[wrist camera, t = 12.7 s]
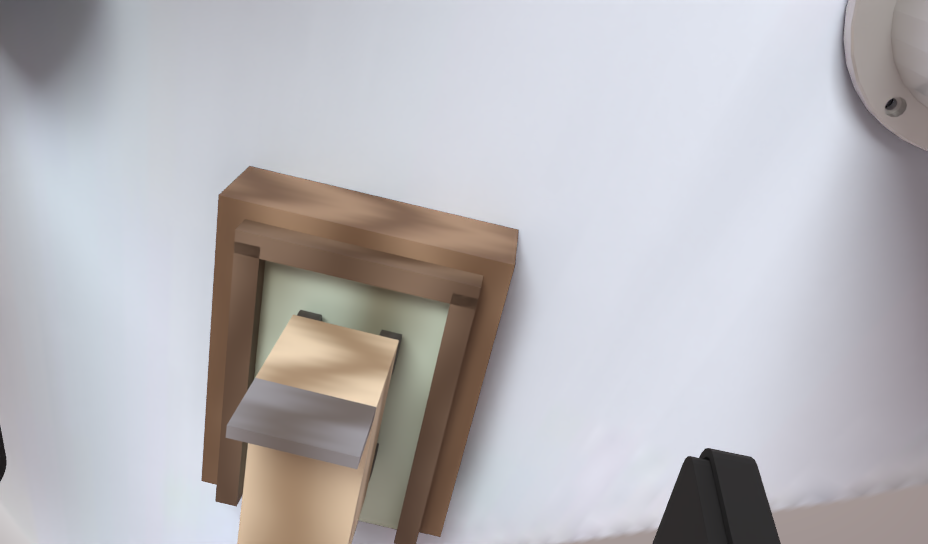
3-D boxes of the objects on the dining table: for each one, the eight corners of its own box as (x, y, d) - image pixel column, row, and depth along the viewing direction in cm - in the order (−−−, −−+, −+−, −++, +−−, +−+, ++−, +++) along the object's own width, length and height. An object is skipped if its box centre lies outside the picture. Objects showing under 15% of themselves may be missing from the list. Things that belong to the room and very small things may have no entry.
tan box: (406, 317, 37) (359, 457, 28) (373, 470, 41) (324, 630, 32) (305, 293, 37) (226, 425, 28) (284, 448, 41) (211, 603, 32)
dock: (518, 229, 38) (513, 277, 34) (448, 487, 47) (437, 553, 42) (249, 166, 38) (208, 205, 34) (228, 435, 47) (192, 495, 42)
